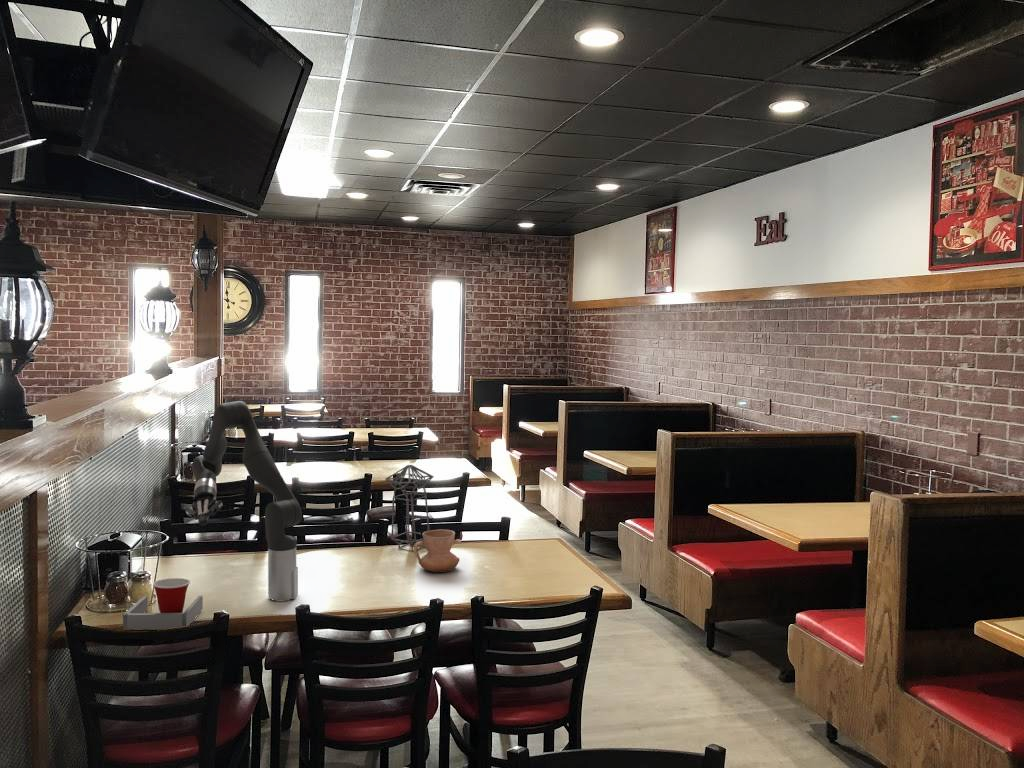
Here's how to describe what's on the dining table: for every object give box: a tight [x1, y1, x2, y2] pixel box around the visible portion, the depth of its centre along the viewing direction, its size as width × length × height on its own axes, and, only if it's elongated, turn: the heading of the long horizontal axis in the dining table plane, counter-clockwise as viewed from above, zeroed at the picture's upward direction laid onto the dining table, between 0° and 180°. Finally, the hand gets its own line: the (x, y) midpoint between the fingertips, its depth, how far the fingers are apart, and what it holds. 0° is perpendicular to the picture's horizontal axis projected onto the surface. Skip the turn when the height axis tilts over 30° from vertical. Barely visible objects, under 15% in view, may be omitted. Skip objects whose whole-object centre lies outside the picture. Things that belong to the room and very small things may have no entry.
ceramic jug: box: [413, 529, 462, 573], centre depth 302 cm, size 18×14×14 cm
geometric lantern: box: [384, 464, 435, 552], centre depth 329 cm, size 16×16×35 cm
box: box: [122, 595, 204, 630], centre depth 247 cm, size 18×16×5 cm
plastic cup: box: [152, 577, 191, 613], centre depth 249 cm, size 11×11×12 cm
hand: (203, 523), depth 272 cm, fingers closed
